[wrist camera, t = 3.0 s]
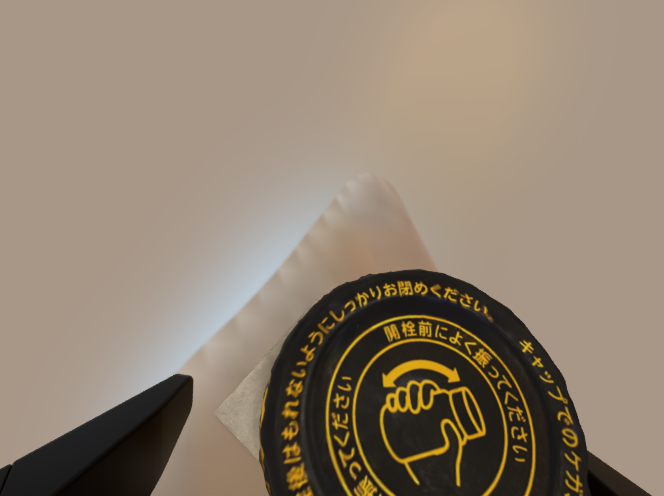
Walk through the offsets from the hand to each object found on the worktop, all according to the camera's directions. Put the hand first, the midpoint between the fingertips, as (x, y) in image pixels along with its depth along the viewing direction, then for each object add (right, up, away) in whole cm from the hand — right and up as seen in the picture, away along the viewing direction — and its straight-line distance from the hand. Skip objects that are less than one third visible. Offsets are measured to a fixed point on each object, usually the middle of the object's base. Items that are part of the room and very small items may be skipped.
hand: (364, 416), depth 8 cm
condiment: (-1, -4, +8) cm, 8 cm away
